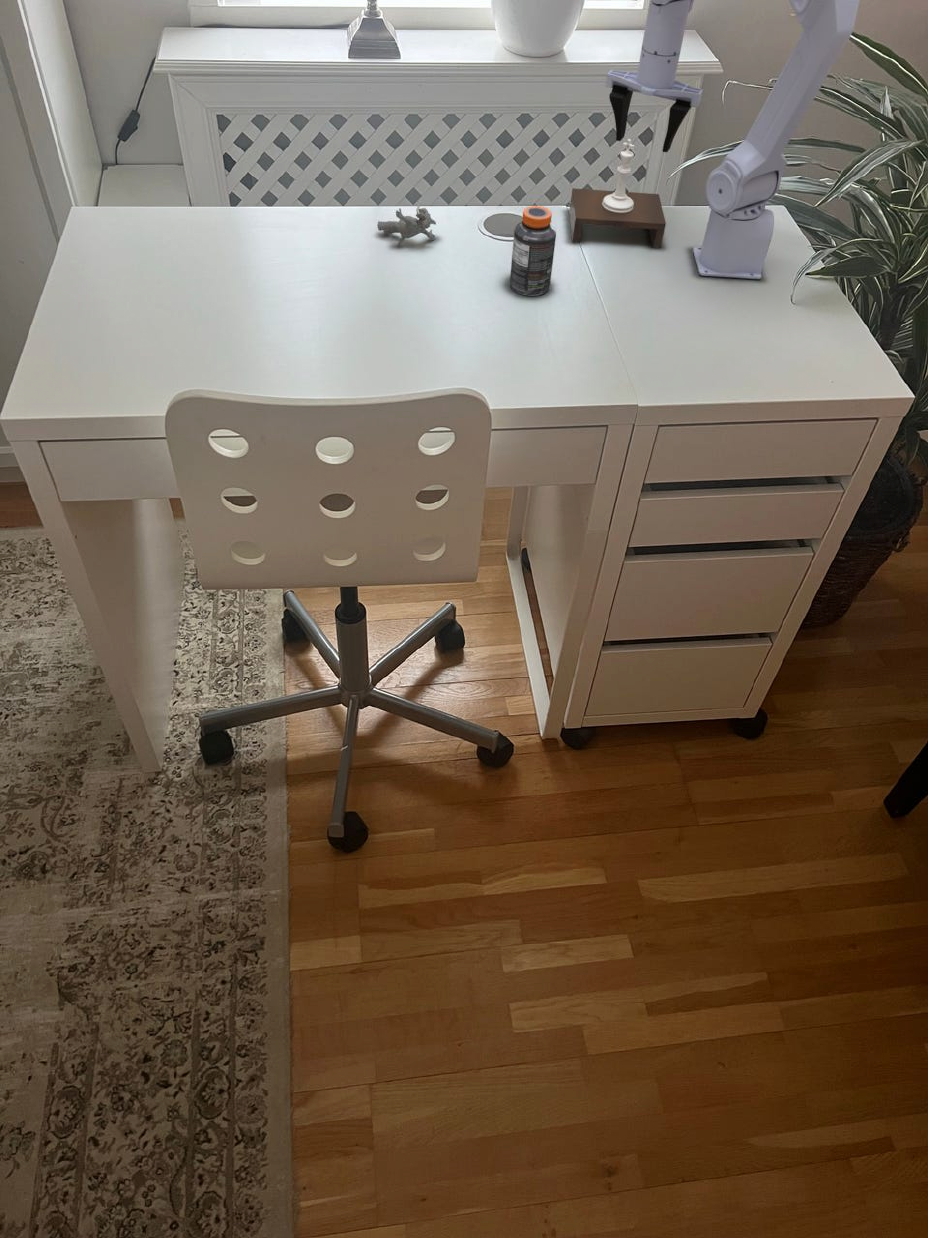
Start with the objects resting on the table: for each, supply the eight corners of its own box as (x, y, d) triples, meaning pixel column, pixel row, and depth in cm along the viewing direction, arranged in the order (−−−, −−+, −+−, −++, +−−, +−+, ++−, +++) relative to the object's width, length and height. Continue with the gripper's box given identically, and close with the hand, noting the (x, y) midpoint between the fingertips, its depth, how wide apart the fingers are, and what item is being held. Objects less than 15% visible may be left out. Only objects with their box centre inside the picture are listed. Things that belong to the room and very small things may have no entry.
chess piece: (625, 215, 149) (637, 149, 142) (596, 206, 151) (607, 140, 143) (638, 204, 152) (651, 138, 145) (610, 195, 154) (621, 129, 146)
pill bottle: (550, 277, 144) (560, 203, 135) (548, 298, 140) (558, 223, 131) (510, 273, 144) (517, 199, 135) (507, 294, 140) (515, 219, 131)
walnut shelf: (653, 217, 158) (659, 193, 155) (660, 248, 151) (666, 223, 148) (569, 212, 158) (572, 188, 155) (572, 242, 151) (575, 217, 148)
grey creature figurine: (403, 221, 153) (450, 217, 148) (398, 259, 153) (444, 256, 148) (364, 195, 144) (412, 190, 140) (358, 235, 145) (406, 232, 140)
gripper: (605, 47, 141) (591, 142, 151) (701, 67, 138) (680, 164, 148) (620, 32, 145) (606, 126, 156) (714, 52, 142) (692, 147, 152)
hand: (643, 144), depth 152 cm, fingers open, 7 cm apart
